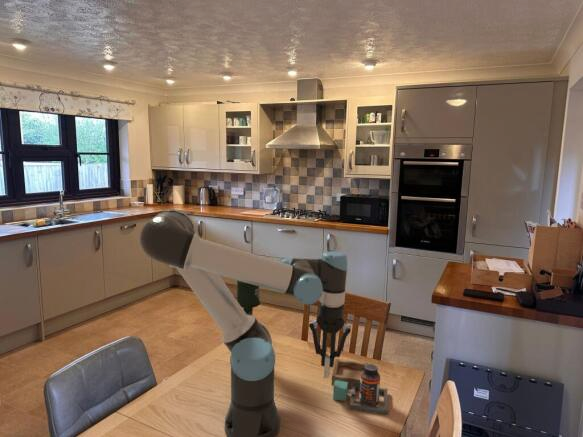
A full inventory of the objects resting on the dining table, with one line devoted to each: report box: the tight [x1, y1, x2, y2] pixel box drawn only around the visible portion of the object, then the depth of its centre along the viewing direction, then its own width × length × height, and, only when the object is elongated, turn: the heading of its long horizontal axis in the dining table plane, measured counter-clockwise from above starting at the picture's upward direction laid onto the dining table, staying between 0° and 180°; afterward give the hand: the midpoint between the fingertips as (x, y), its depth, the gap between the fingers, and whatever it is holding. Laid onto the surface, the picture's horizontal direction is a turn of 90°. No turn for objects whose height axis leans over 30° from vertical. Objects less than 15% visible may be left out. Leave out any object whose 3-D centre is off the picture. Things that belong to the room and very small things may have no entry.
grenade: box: [236, 280, 261, 315], centre depth 148 cm, size 8×9×30 cm
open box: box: [331, 358, 369, 388], centre depth 139 cm, size 11×11×3 cm
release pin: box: [332, 380, 356, 402], centre depth 127 cm, size 6×4×4 cm, turn 78°
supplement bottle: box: [358, 363, 381, 406], centre depth 125 cm, size 6×6×11 cm
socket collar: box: [349, 384, 389, 416], centre depth 126 cm, size 11×11×2 cm
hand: (326, 375), depth 128 cm, fingers closed
